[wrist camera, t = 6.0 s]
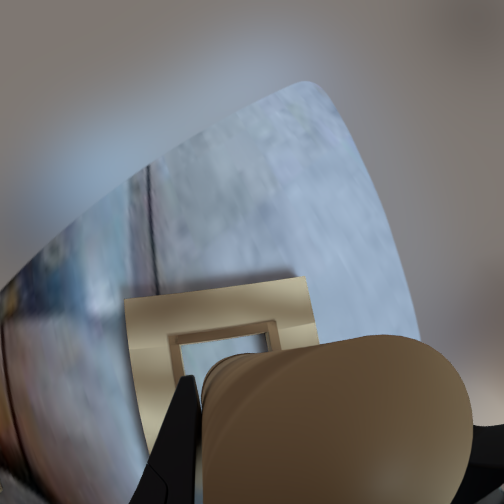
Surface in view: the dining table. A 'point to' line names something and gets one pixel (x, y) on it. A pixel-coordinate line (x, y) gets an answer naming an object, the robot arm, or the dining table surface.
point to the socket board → (208, 333)
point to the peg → (335, 425)
